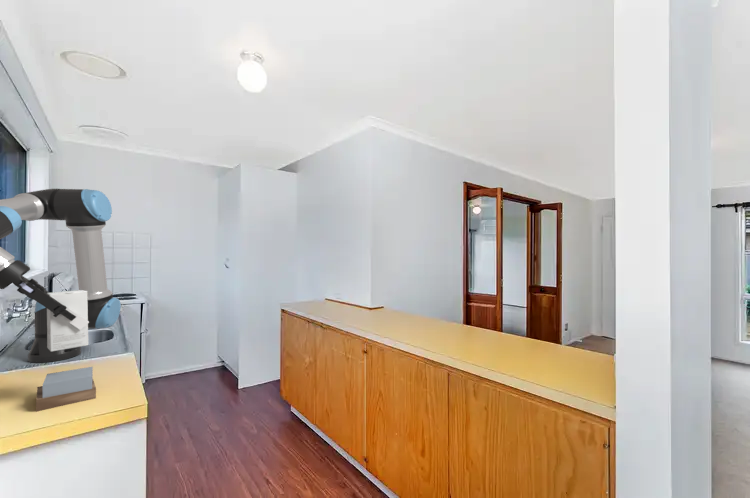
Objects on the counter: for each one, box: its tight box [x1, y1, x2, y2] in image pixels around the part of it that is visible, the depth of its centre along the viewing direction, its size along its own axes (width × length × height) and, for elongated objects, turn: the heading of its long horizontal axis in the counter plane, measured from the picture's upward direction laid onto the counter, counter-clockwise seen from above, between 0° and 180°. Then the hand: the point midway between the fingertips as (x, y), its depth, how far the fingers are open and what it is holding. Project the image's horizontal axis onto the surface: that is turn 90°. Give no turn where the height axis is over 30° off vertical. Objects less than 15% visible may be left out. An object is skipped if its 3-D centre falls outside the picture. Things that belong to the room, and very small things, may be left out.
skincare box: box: [47, 289, 89, 352], centre depth 98 cm, size 8×7×16 cm
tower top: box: [42, 366, 94, 398], centre depth 98 cm, size 10×10×4 cm
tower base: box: [35, 379, 97, 413], centre depth 98 cm, size 12×12×4 cm
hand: (83, 323), depth 101 cm, fingers closed on skincare box, 7 cm apart
